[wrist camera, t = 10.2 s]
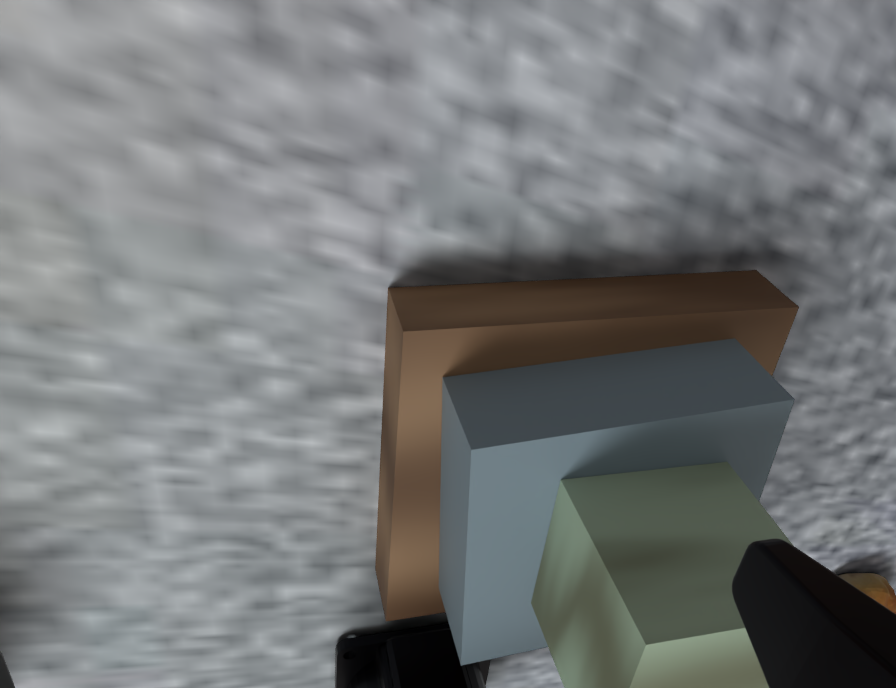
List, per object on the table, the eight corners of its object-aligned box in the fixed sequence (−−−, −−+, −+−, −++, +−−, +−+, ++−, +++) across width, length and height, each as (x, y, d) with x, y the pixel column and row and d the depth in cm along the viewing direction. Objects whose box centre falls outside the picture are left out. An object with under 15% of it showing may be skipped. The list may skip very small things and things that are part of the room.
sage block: (680, 580, 24) (772, 732, 20) (530, 603, 23) (597, 770, 19) (727, 461, 21) (843, 610, 17) (560, 479, 20) (645, 645, 16)
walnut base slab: (658, 516, 32) (694, 574, 30) (372, 554, 29) (386, 621, 27) (744, 259, 25) (798, 307, 23) (384, 275, 22) (403, 331, 20)
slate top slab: (678, 541, 28) (720, 609, 26) (438, 587, 26) (460, 665, 24) (734, 337, 23) (794, 399, 21) (442, 377, 21) (471, 450, 19)
